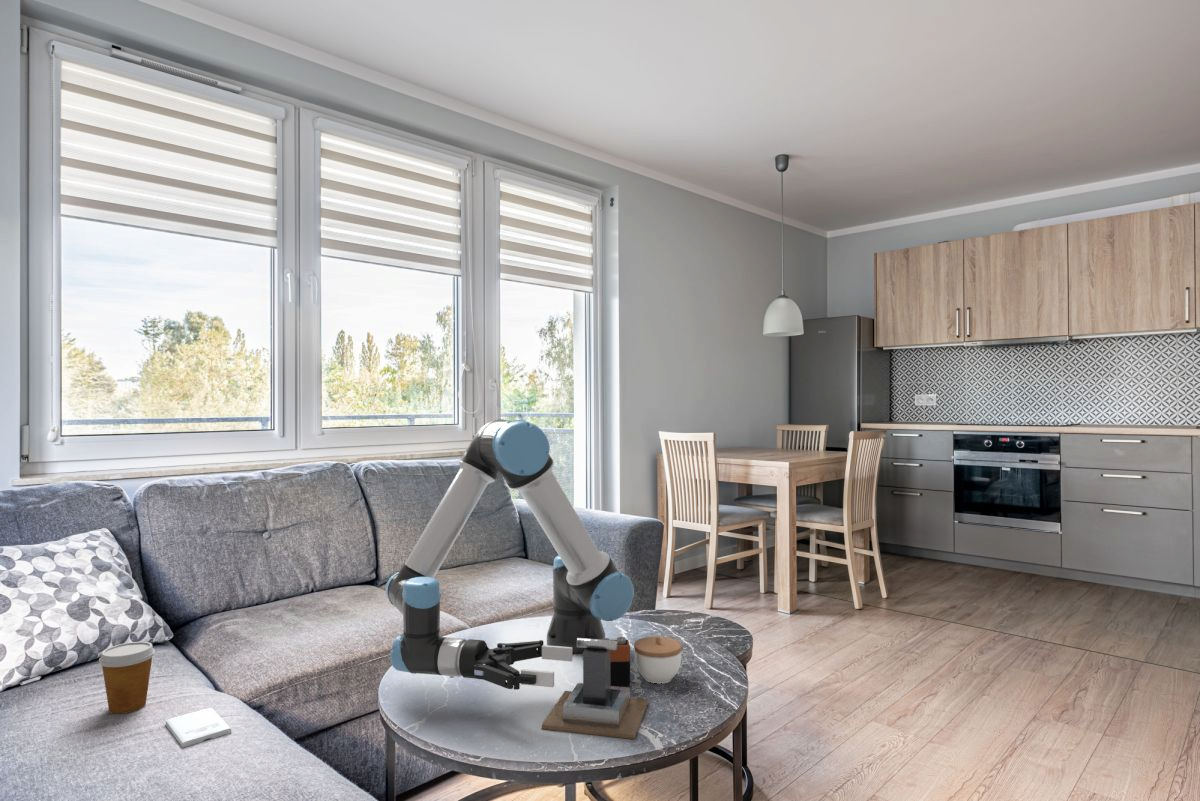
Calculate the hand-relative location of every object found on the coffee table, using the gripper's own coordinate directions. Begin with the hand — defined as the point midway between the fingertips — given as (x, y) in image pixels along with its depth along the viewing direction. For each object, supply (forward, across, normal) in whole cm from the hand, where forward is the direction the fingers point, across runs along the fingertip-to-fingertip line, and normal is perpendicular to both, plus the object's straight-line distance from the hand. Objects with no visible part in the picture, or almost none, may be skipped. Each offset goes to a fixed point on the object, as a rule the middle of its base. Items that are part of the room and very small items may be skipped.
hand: (563, 666), depth 141 cm
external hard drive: (-66, +22, -10) cm, 71 cm away
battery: (+7, -16, -9) cm, 20 cm away
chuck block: (+7, 0, -9) cm, 12 cm away
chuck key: (+7, 0, -8) cm, 10 cm away
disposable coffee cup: (-88, +17, -10) cm, 90 cm away
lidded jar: (+16, -21, -9) cm, 28 cm away
